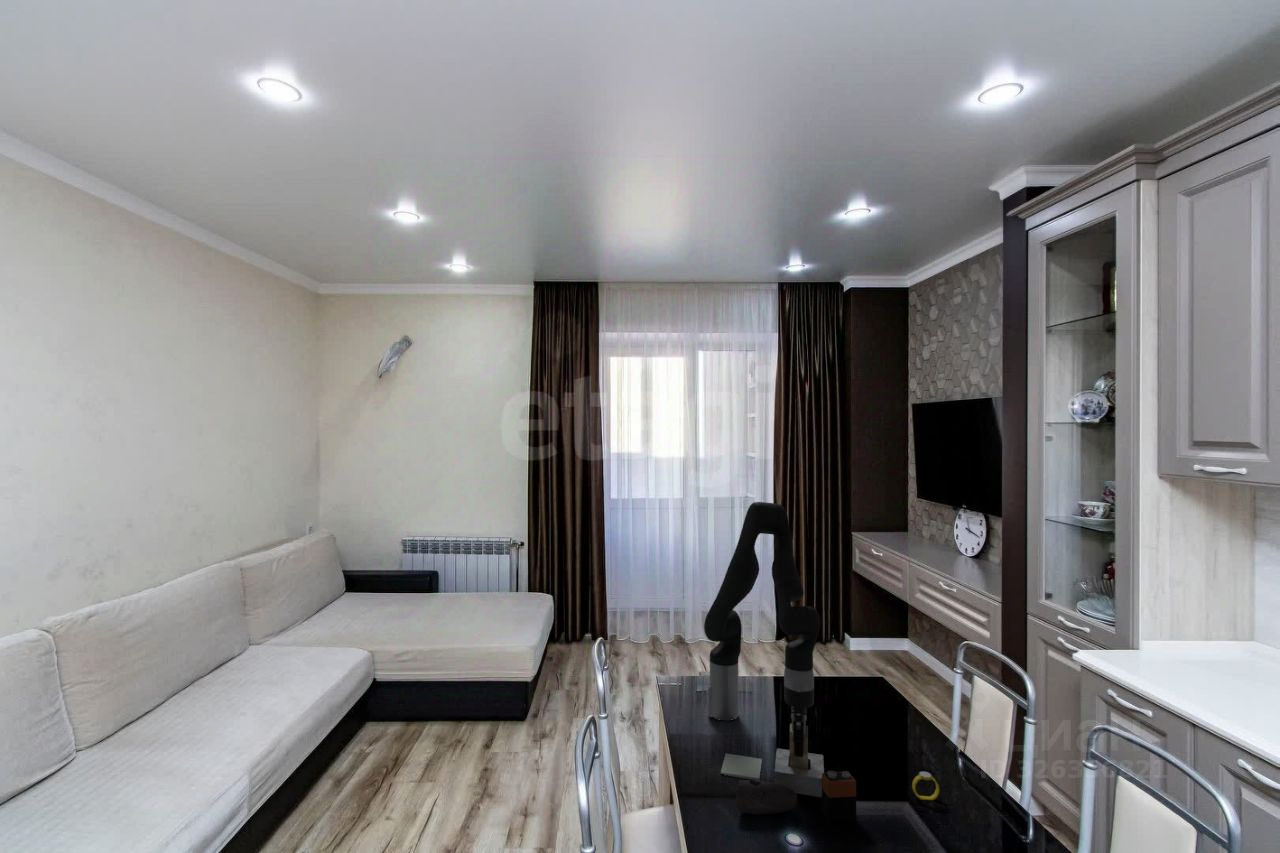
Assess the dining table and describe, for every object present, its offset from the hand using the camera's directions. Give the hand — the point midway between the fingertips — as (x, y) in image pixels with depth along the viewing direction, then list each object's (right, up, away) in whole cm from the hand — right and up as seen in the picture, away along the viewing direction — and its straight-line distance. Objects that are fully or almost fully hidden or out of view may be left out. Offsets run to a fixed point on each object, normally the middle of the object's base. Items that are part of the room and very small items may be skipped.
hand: (798, 750), depth 151 cm
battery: (+5, -7, -15) cm, 18 cm away
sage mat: (-14, -8, +6) cm, 17 cm away
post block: (0, -8, 0) cm, 8 cm away
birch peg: (0, -5, 0) cm, 5 cm away
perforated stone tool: (-11, -7, -14) cm, 19 cm away
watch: (+29, -8, -8) cm, 31 cm away
